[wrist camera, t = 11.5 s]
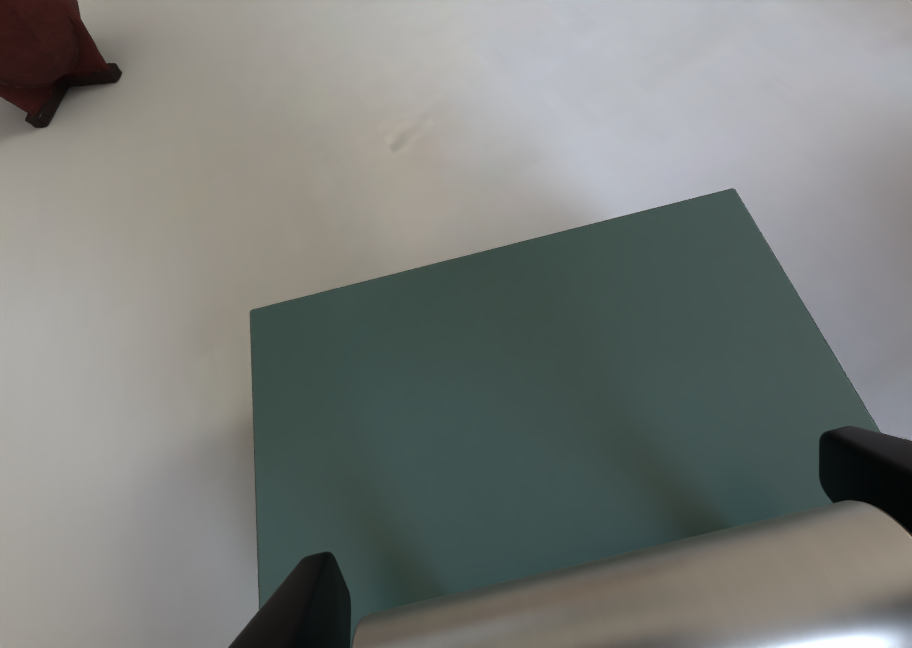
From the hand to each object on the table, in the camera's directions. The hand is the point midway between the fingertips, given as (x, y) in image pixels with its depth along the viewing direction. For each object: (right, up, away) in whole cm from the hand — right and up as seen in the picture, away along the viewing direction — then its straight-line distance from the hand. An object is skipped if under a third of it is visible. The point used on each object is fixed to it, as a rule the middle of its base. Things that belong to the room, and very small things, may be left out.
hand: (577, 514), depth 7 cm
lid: (0, 0, +3) cm, 3 cm away
